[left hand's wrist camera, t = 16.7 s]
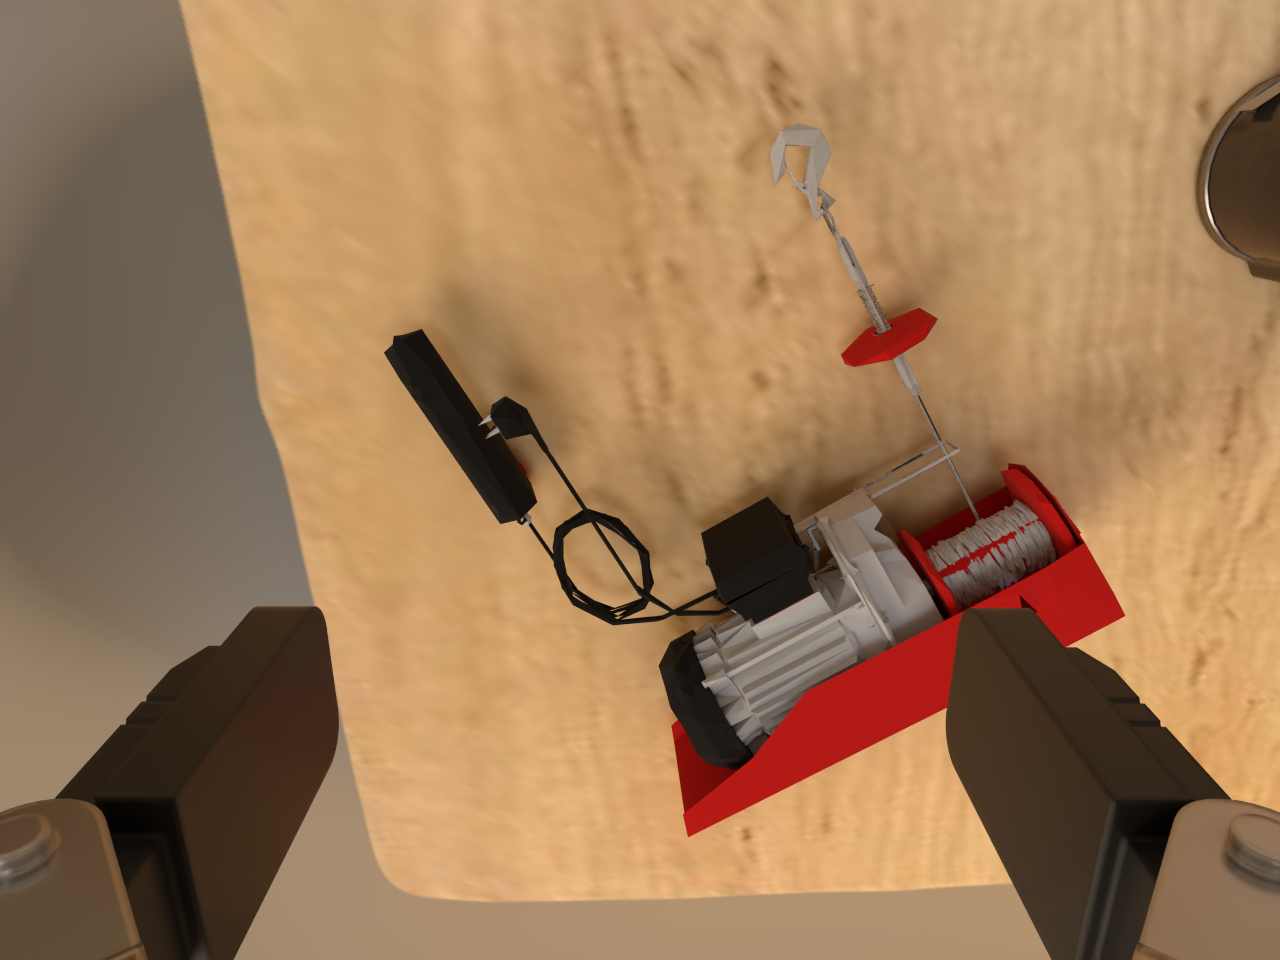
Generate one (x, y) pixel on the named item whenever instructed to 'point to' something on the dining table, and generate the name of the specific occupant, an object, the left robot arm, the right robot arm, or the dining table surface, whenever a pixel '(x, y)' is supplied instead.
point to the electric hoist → (803, 580)
